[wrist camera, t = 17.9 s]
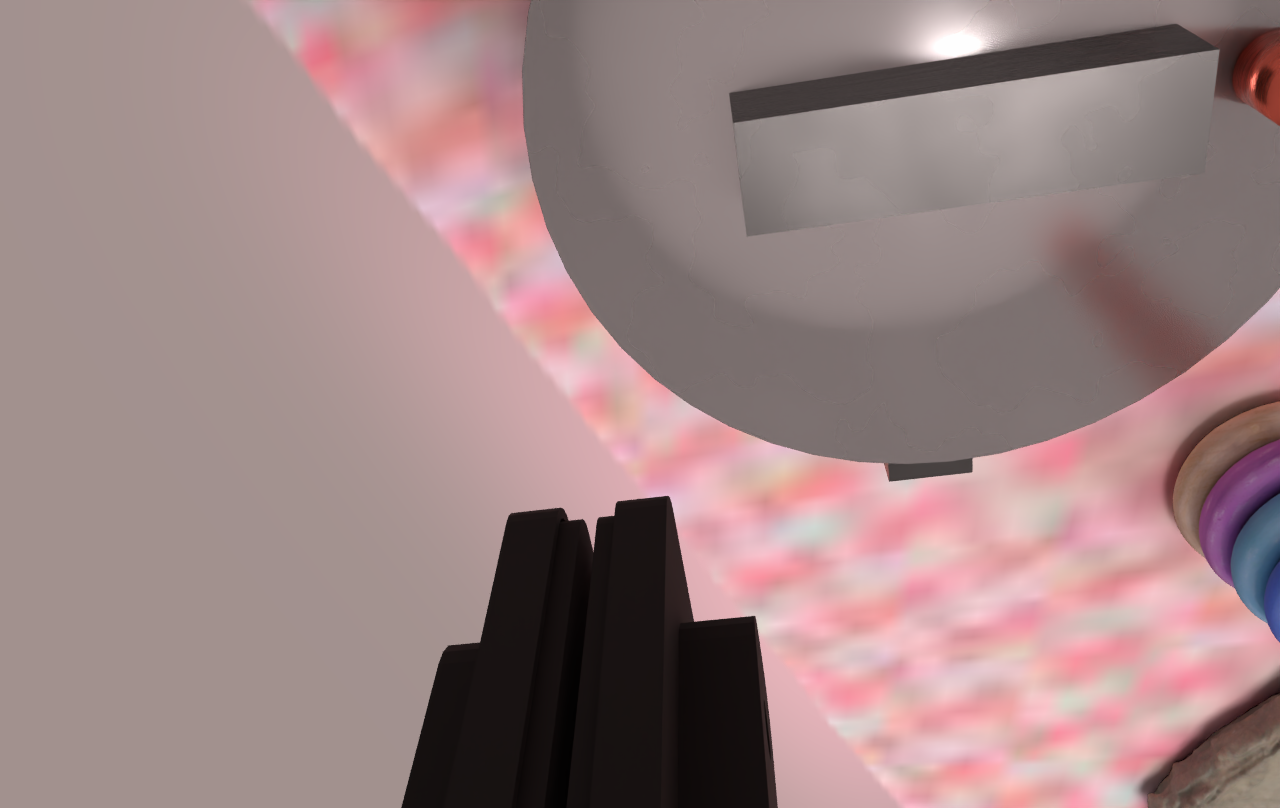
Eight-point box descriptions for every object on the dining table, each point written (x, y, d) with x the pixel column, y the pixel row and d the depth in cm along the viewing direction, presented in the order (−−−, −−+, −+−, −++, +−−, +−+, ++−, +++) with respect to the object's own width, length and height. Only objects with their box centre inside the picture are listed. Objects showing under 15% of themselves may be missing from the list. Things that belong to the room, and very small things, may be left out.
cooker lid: (438, -304, 20) (396, -309, 17) (1463, -512, 18) (1620, -560, 15) (608, 464, 30) (601, 549, 27) (1294, 385, 28) (1370, 466, 25)
